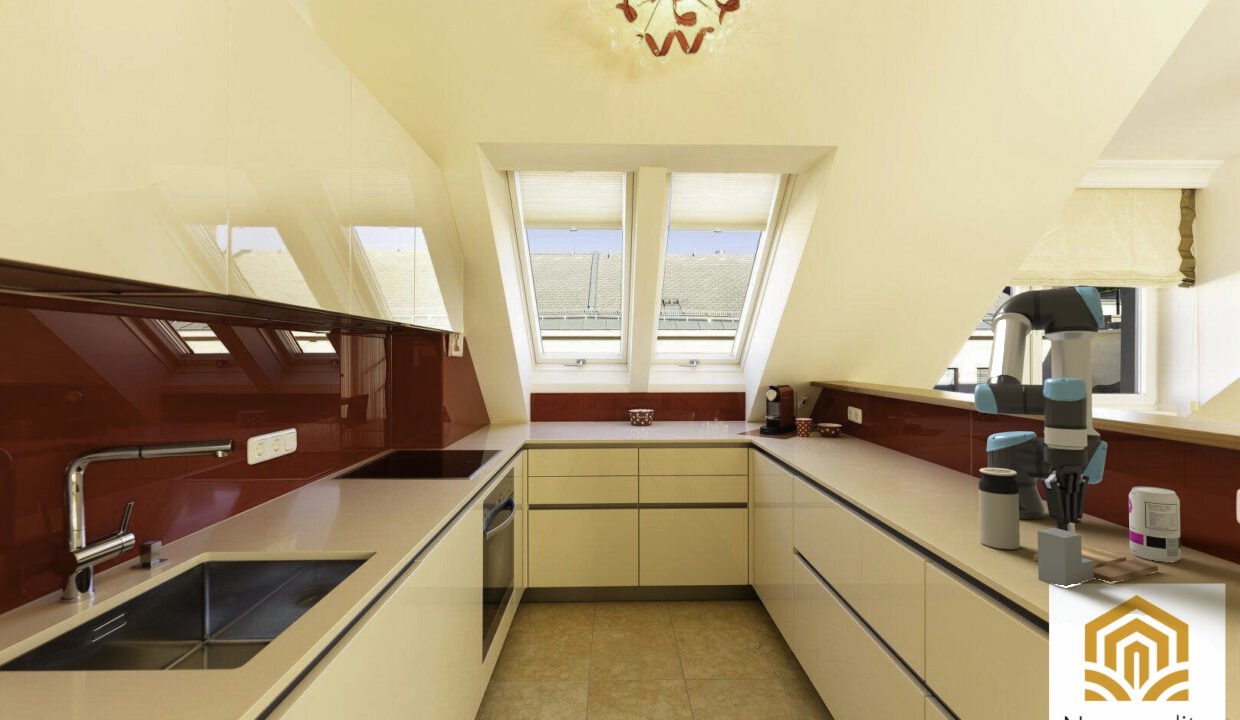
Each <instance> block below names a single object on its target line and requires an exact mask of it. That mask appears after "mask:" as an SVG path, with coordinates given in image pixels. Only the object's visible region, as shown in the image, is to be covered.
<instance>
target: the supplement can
mask: <svg viewBox="0 0 1240 720" xmlns="http://www.w3.org/2000/svg"><path fill="white" fill-rule="evenodd" d="M1180 507H1181V501H1180V498H1179V496H1178V495H1177V493H1176V492H1175V491H1174V490H1171V489H1168V488H1161V487H1154V486H1153V487H1152V486H1133V487H1132V488H1131V490H1130V492H1129V494H1128V515H1129V516H1128V520H1129V521H1128V522H1129V524H1128V525H1129V531H1128V533H1129V551H1130V552H1131V553H1132V554H1133V555H1134V556H1136V557H1138V558H1142V559H1145V560H1147V559H1148V561H1152V560H1154V561H1153V562H1158V561H1169V563H1171V562H1170V561H1176V562H1177V561H1179V560H1181V559H1182V557H1181V556H1182V555H1181V554H1182V552H1181V550H1182V549H1181V546H1182V545H1181V510H1180V509H1181V508H1180Z"/></svg>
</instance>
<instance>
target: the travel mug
mask: <svg viewBox="0 0 1240 720" xmlns="http://www.w3.org/2000/svg"><path fill="white" fill-rule="evenodd" d="M979 472H980V474H981V477H980V480H979V482H978V510H979V511H978V516H979V519H978V520H979V543H981V544H983V545H985V546H987V547H989V548H992V549H999V550H1008V551H1011V550H1017V549H1019V548H1020V547H1021V542H1020V541H1021V539H1020V538H1021V535H1020V519H1019V486H1018V484H1017V483H1016V481H1015V476H1016V475H1017V472H1016V471H1013V470H1009V469H1002V468H988V467H981V468H980V469H979Z"/></svg>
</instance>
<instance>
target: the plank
mask: <svg viewBox="0 0 1240 720" xmlns="http://www.w3.org/2000/svg"><path fill="white" fill-rule="evenodd" d="M1081 551H1082V557H1083V558H1086V559H1090V560H1093V564H1094V569H1095V568H1099V567H1103V566H1107V565H1112V564H1116V563H1120V562H1124V561H1128V560H1127V556H1126V555H1121V554H1117V553H1114V552H1111V551H1106V550H1102V549H1099V548H1095V547H1092V546H1091V547H1090V546H1087V545H1082V544H1081ZM1033 560H1034V561H1037V562H1038V553H1035V554H1033Z"/></svg>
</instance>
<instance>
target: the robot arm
mask: <svg viewBox="0 0 1240 720" xmlns="http://www.w3.org/2000/svg"><path fill="white" fill-rule="evenodd" d="M1105 326H1106V325H1105V317H1104V310H1103V307H1102V301H1101V297H1100V293H1099V291H1098V289H1097V288H1096V287H1094V286H1072V287H1071V286H1070V287H1058V288H1049V289H1048V288H1047V289H1038V290H1037V289H1034V290H1033V289H1032V290H1027V291H1024V292H1020V293H1018V294H1015V295H1014V296H1012V297H1010V298H1009V299H1008V300H1006V301H1004V302H1003V303H1002V305H1000V306H999V308H998V309H997V310H996V311H995V313H994V314H993V316H992V319H991V323H990V328H991V332H992V333H993V340H992V345H991V351H990V359H989V365H988V371H987V375H986V376H987V377H986V382H985V383H978V384H977V385H976V386H975V388H974V394H973V395H974V408H975V410H976V411H978V412H979V413H986V414H994V415H1023V416H1024V415H1027V416H1043V419H1044V425H1043V426H1044V430H1043V433H1044V437H1037V436H1038V435H1037V434H1036V432H1034V431H1024V430H1023V431H1005V432H998V433H993V434H991V435H989V436H988V438H987V441H986V442H987V443H986V449H985V450H986V455H987V456H986V457H987V458H986V461H987V463H986V464H987V468H1002V469H1009V470H1013V471H1016V472H1017V475H1016V476H1015V481H1016V483H1017V484H1018V486H1019V520H1020V519H1021V520H1038V519H1039V520H1040V519H1043V518H1045V517H1046V508H1045V506H1044V503H1043V500H1042V497H1041V495H1040V493H1039V490H1038V486H1037V483H1038V482H1037V480H1041V481H1040V482H1041V484H1042V487H1043V489H1044V493H1045V498H1046V500H1045V501H1046V504H1047V505H1046V506H1047V510H1048V516H1049V519H1050V520H1051V521H1053V522H1056V528H1057V529H1061V530H1065V531H1069V532H1073V533H1076V524H1078V525H1081V523H1082V520H1081V519H1083V515H1084V508H1085V499H1086V495H1087V494H1086V493H1087V487H1088V485H1090V484H1091V485H1095V484H1098V483H1099V484H1100V482H1101V481H1102V480H1103V476H1104V471H1105V464H1106V458H1107V457H1106V456H1107V449H1108V443H1107V442H1106V441H1104V440H1101V434H1100V433H1099V431H1096V429H1094V427H1093V388H1092V387H1093V384H1092V340H1093V339H1095V338H1096V337H1097V336H1098V335H1099V329H1102V328H1105ZM1031 331H1044V337H1045V338H1046V339H1048V341H1050V343H1051V344H1050V345H1051V348H1050V349H1051V350H1050V352H1051V356H1050V357H1051V377H1050V378H1046V379H1045V380H1044V381H1043V382H1044V383H1043V384H1026V383H1025V384H1023V376H1024V366H1025V365H1024V364H1025V356H1026V355H1025V354H1026V345H1027V337H1028V335H1029V334H1030V333H1031Z"/></svg>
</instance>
